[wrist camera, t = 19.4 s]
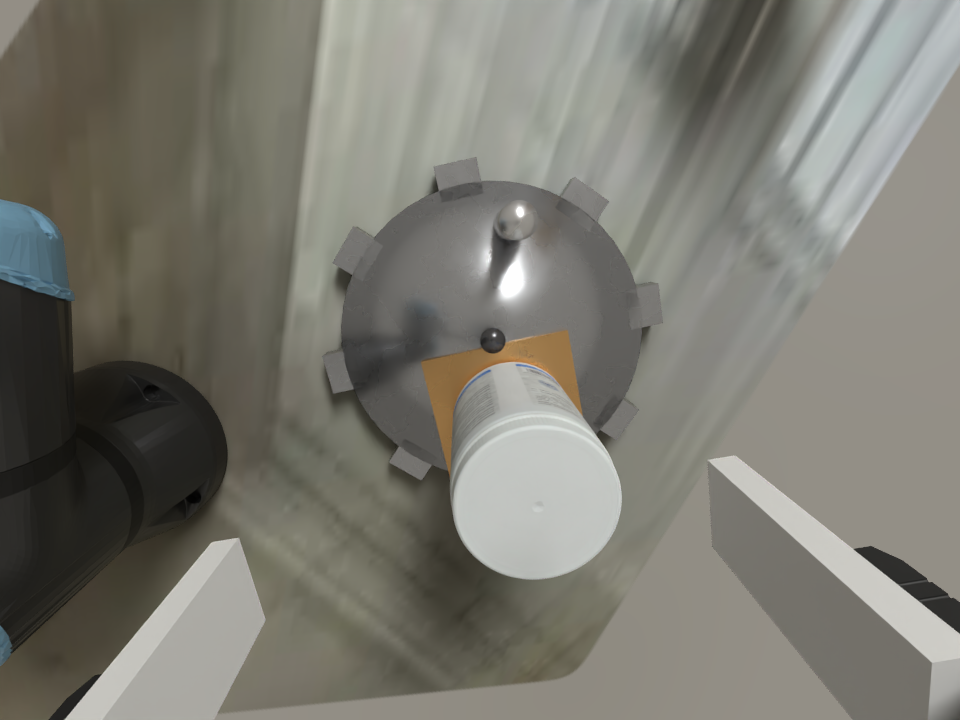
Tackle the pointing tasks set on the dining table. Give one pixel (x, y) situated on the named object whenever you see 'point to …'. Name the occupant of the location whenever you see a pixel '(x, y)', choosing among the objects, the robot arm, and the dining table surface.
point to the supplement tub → (529, 475)
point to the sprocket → (486, 307)
